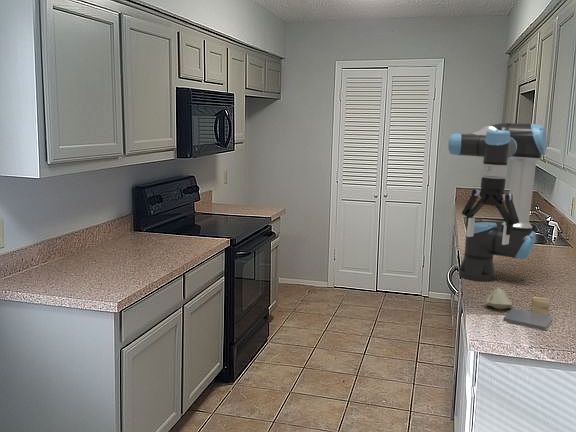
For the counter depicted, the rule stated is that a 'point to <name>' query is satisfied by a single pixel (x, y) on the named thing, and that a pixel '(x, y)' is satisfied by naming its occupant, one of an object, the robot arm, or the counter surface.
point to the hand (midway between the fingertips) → (487, 240)
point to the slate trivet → (528, 319)
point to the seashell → (498, 299)
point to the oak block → (540, 305)
